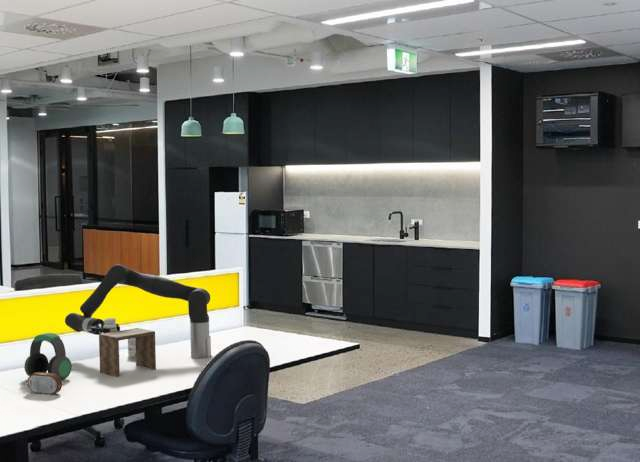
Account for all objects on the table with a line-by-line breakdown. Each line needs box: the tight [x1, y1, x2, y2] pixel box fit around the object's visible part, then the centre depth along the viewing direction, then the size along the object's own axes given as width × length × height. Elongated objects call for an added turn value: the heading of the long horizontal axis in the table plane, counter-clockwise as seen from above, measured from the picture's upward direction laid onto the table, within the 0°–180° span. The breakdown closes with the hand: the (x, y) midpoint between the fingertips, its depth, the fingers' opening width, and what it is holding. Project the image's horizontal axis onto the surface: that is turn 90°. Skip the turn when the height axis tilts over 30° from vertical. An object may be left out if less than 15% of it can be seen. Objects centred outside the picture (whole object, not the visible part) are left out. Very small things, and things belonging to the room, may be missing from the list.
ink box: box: [127, 338, 136, 358], centre depth 397 cm, size 9×5×12 cm, turn 56°
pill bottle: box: [103, 317, 117, 333], centre depth 373 cm, size 6×6×11 cm
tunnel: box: [98, 327, 157, 378], centre depth 363 cm, size 14×20×18 cm
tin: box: [27, 372, 63, 395], centre depth 324 cm, size 15×3×8 cm, turn 71°
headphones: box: [23, 332, 72, 381], centre depth 350 cm, size 19×11×20 cm, turn 65°
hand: (112, 329), depth 371 cm, fingers closed on pill bottle, 6 cm apart
